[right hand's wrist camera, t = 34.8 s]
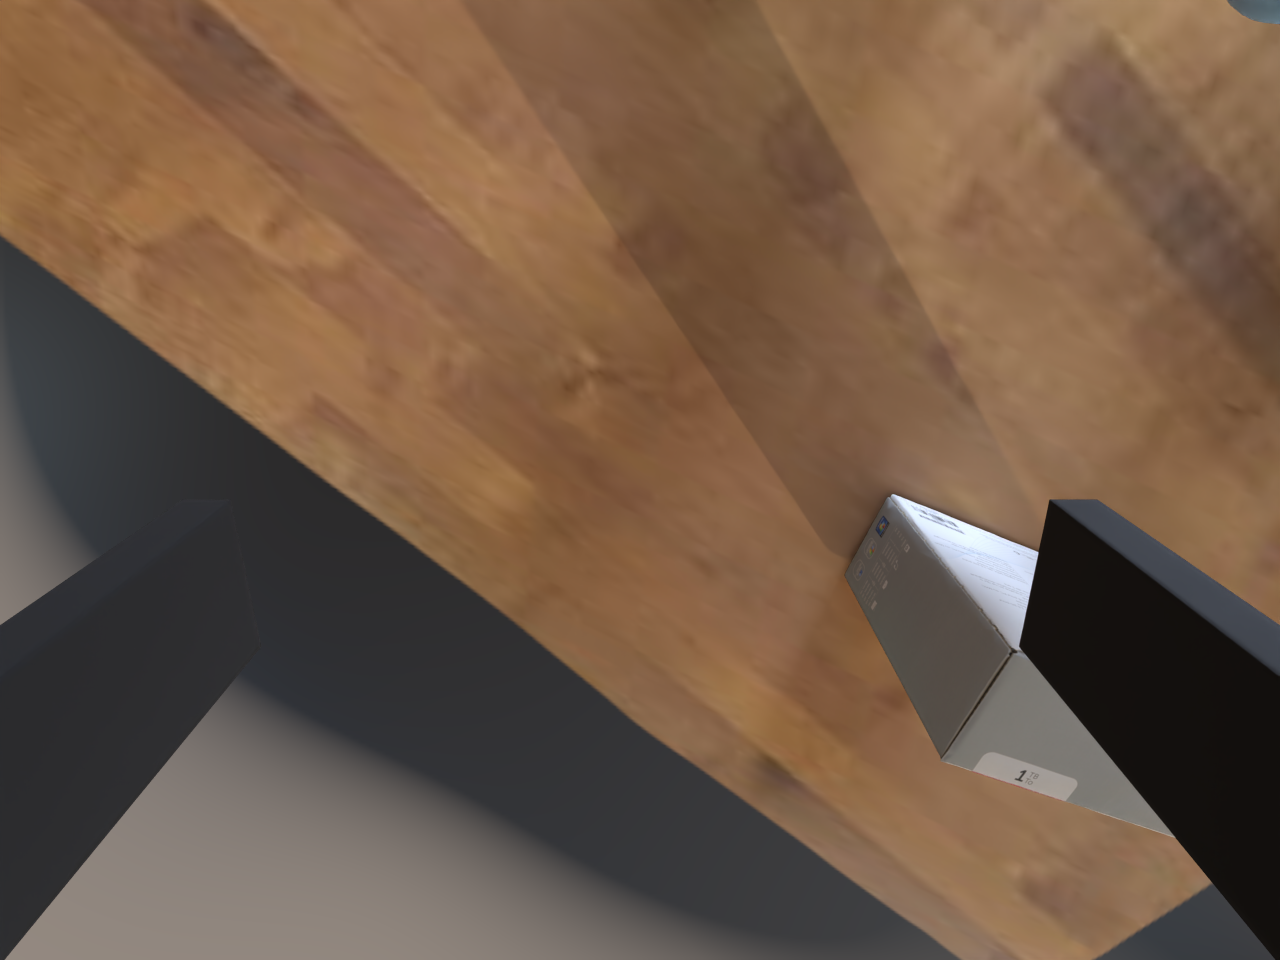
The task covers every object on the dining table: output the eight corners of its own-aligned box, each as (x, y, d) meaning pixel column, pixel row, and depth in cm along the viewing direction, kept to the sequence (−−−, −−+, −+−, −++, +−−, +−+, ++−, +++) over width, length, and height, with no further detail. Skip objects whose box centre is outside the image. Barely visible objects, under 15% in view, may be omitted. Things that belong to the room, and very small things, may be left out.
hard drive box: (839, 576, 58) (933, 760, 40) (888, 489, 56) (1012, 643, 37) (1015, 641, 60) (1182, 845, 42) (1069, 560, 58) (1274, 739, 39)
